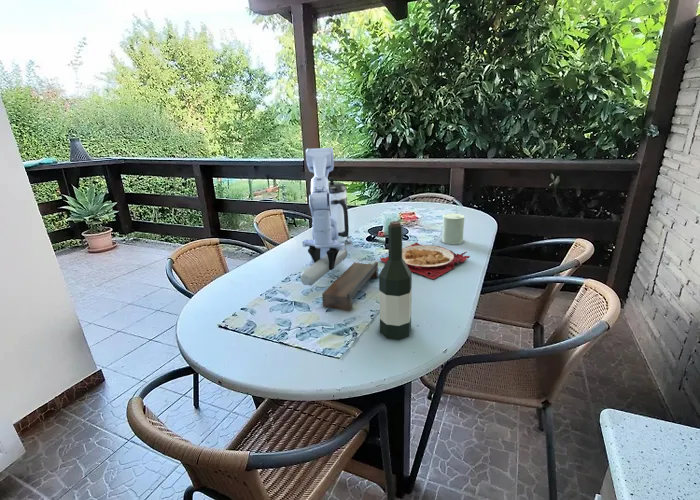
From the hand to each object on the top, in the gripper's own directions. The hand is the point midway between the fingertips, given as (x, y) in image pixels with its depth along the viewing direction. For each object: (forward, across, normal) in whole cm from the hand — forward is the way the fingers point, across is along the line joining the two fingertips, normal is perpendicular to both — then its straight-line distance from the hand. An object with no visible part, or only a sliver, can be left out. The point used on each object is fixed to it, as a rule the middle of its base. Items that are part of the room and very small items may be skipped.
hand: (325, 268), depth 122 cm
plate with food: (+7, +27, +32) cm, 42 cm away
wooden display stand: (+7, +10, 0) cm, 12 cm away
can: (+7, +34, +59) cm, 68 cm away
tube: (+2, 0, 0) cm, 2 cm away
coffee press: (+7, -15, +43) cm, 46 cm away
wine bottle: (+7, +30, -19) cm, 36 cm away
